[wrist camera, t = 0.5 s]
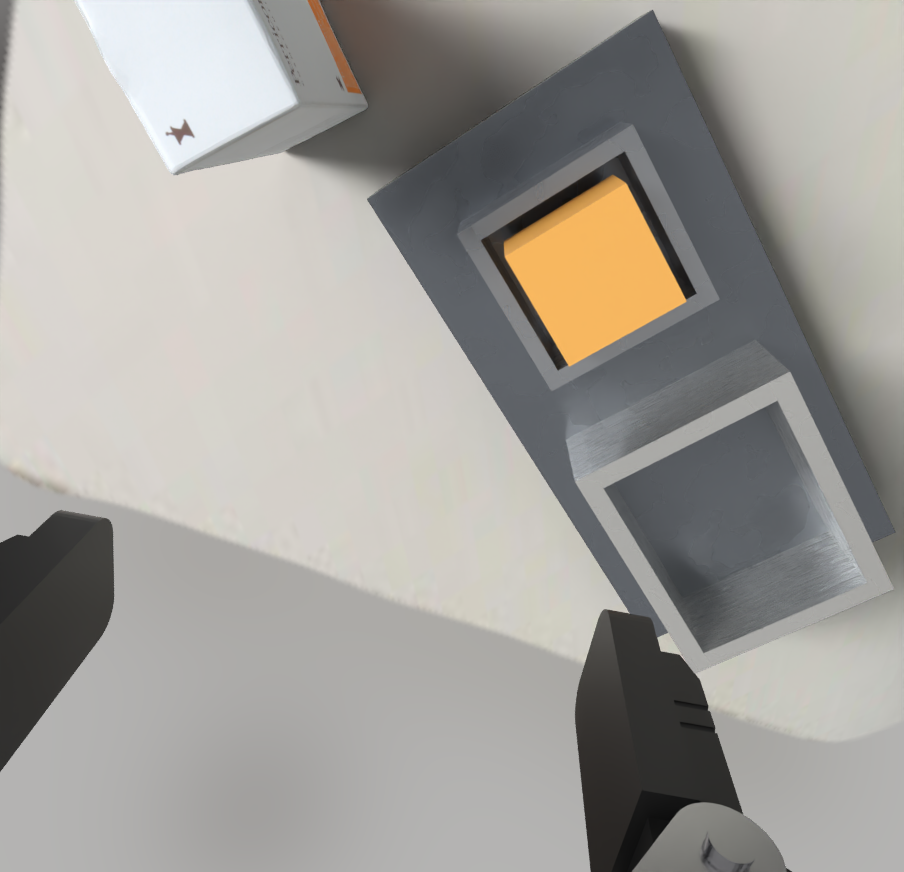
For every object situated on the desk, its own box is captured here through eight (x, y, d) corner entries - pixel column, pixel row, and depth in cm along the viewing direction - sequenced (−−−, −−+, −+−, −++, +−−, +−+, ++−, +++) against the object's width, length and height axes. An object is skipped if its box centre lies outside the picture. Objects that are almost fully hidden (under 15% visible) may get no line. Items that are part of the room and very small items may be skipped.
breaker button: (612, 174, 27) (625, 183, 24) (668, 282, 28) (686, 301, 26) (503, 241, 28) (504, 256, 25) (562, 341, 30) (569, 366, 27)
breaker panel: (640, 16, 29) (677, -5, 23) (870, 504, 37) (943, 584, 31) (375, 192, 32) (349, 213, 26) (638, 610, 40) (664, 700, 34)
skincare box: (373, 107, 31) (307, 111, 20) (281, 154, 32) (168, 183, 21) (299, -56, 29) (179, -151, 18) (202, 0, 30) (30, -58, 19)
